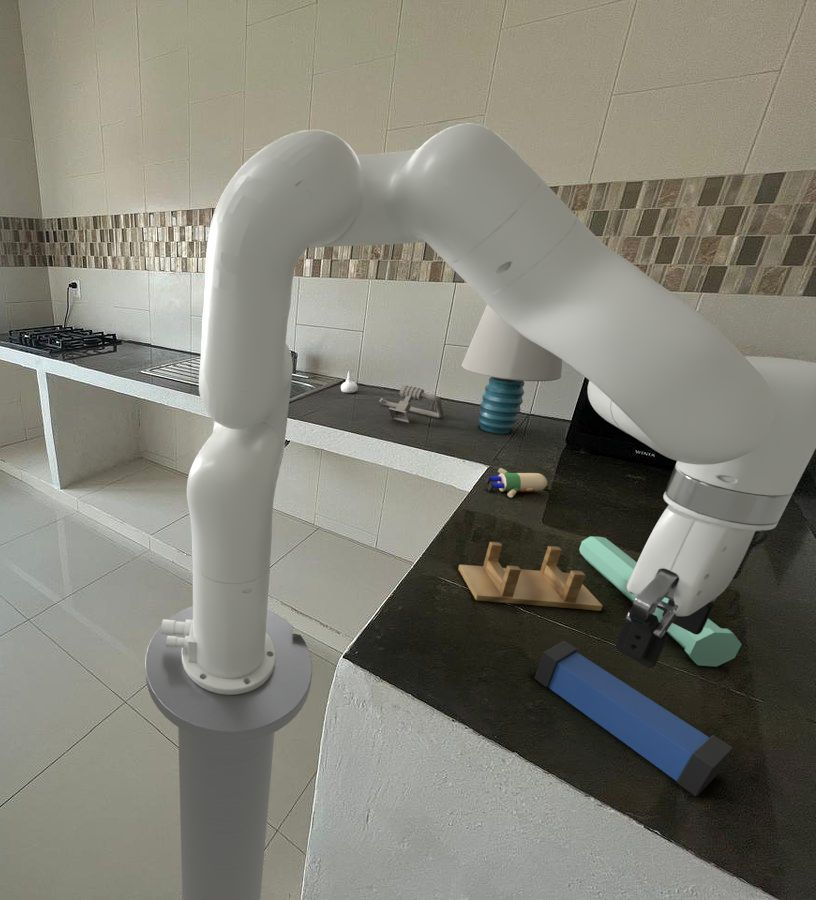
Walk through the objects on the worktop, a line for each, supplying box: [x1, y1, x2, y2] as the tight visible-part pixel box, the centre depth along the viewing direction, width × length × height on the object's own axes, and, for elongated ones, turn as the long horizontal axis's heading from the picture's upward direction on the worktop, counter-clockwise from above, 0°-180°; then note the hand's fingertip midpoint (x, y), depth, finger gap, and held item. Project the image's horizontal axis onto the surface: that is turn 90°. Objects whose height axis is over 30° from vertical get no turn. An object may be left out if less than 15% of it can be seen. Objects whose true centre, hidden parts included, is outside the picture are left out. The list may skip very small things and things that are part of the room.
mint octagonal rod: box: [579, 535, 743, 668], centre depth 73 cm, size 6×6×25 cm
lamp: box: [461, 303, 563, 435], centre depth 140 cm, size 25×25×39 cm
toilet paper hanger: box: [378, 385, 445, 423], centre depth 158 cm, size 22×11×14 cm
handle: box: [534, 640, 734, 797], centre depth 54 cm, size 16×4×4 cm, turn 27°
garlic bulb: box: [340, 370, 358, 394], centre depth 184 cm, size 6×6×8 cm
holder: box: [457, 541, 603, 612], centre depth 76 cm, size 18×8×6 cm, turn 83°
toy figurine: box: [484, 467, 548, 498], centre depth 108 cm, size 8×4×12 cm
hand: (658, 641), depth 50 cm, fingers open, 9 cm apart
